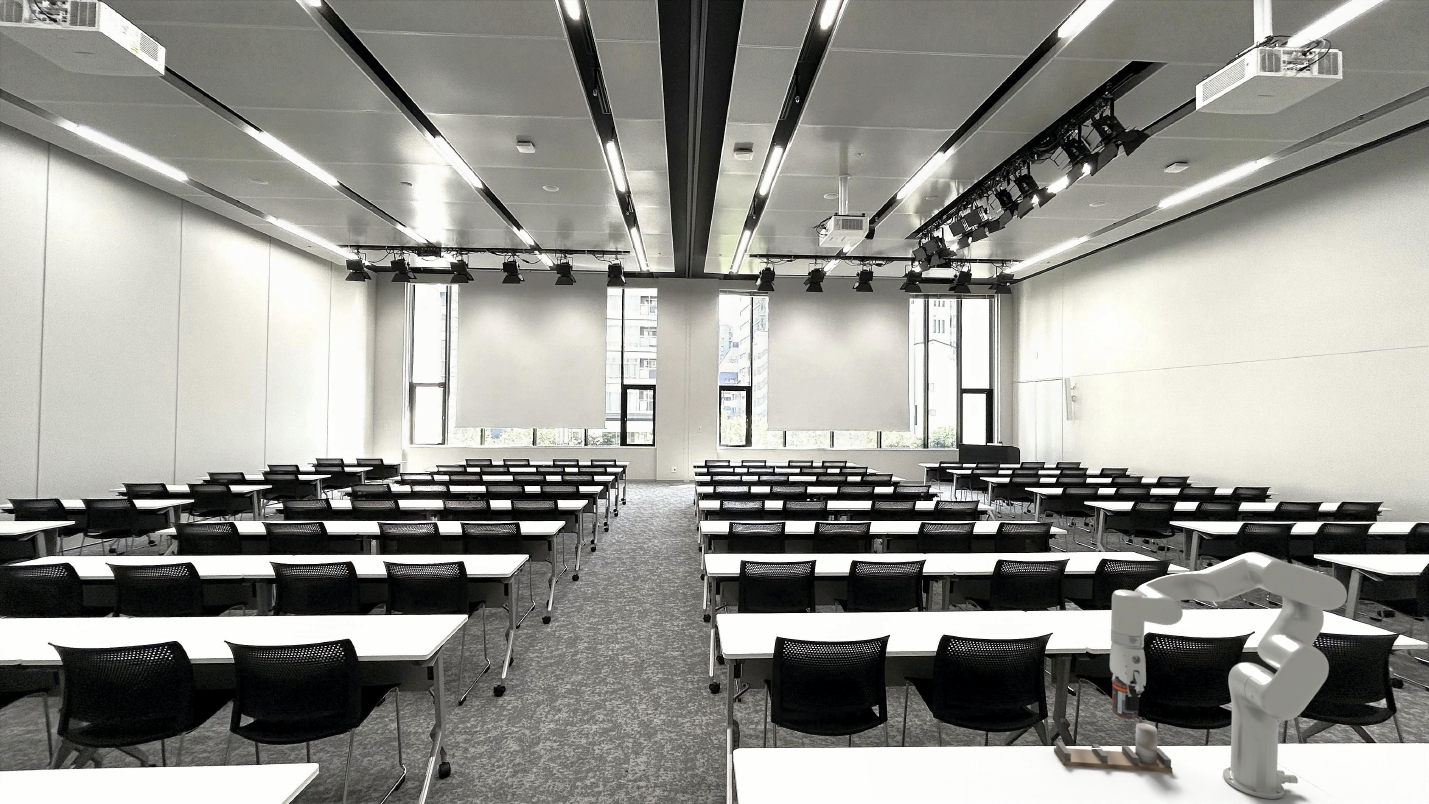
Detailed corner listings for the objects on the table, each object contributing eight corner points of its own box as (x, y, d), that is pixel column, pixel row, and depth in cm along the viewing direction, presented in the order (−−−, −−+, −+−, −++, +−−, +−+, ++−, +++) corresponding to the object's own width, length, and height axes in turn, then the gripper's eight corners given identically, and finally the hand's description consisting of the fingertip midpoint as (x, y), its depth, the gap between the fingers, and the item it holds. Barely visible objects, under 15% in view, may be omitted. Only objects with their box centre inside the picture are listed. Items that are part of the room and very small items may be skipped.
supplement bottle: (1111, 707, 183) (1112, 666, 183) (1137, 713, 180) (1138, 671, 180) (1112, 716, 178) (1113, 674, 177) (1138, 722, 175) (1139, 680, 174)
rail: (1158, 758, 188) (1158, 722, 188) (1172, 772, 181) (1173, 735, 181) (1053, 751, 191) (1054, 716, 191) (1063, 765, 184) (1064, 729, 184)
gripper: (1160, 651, 169) (1158, 721, 170) (1125, 626, 186) (1123, 690, 187) (1129, 650, 170) (1127, 719, 171) (1097, 625, 187) (1095, 688, 188)
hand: (1125, 703), depth 179 cm, fingers closed on supplement bottle, 6 cm apart
